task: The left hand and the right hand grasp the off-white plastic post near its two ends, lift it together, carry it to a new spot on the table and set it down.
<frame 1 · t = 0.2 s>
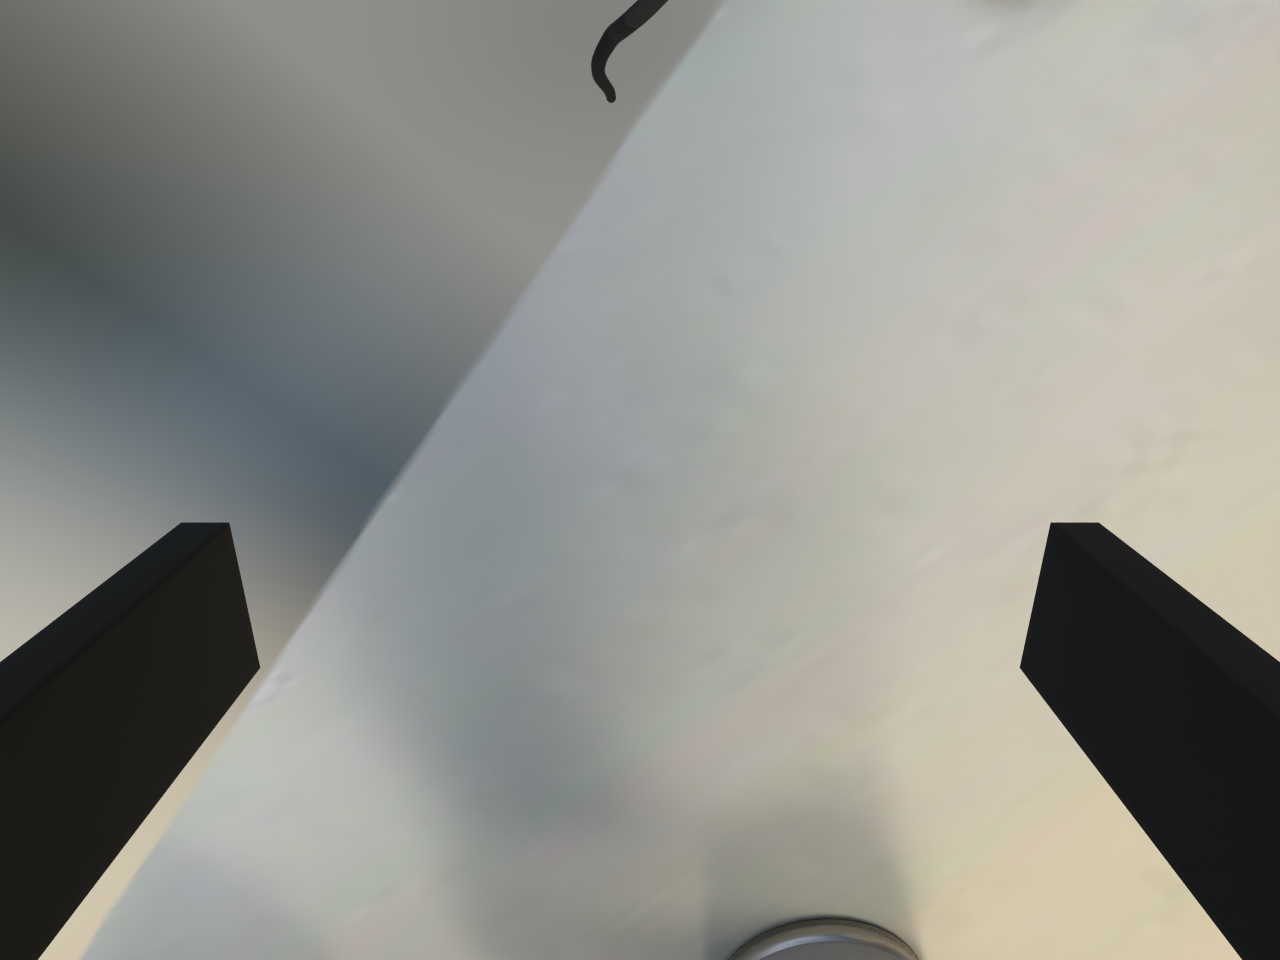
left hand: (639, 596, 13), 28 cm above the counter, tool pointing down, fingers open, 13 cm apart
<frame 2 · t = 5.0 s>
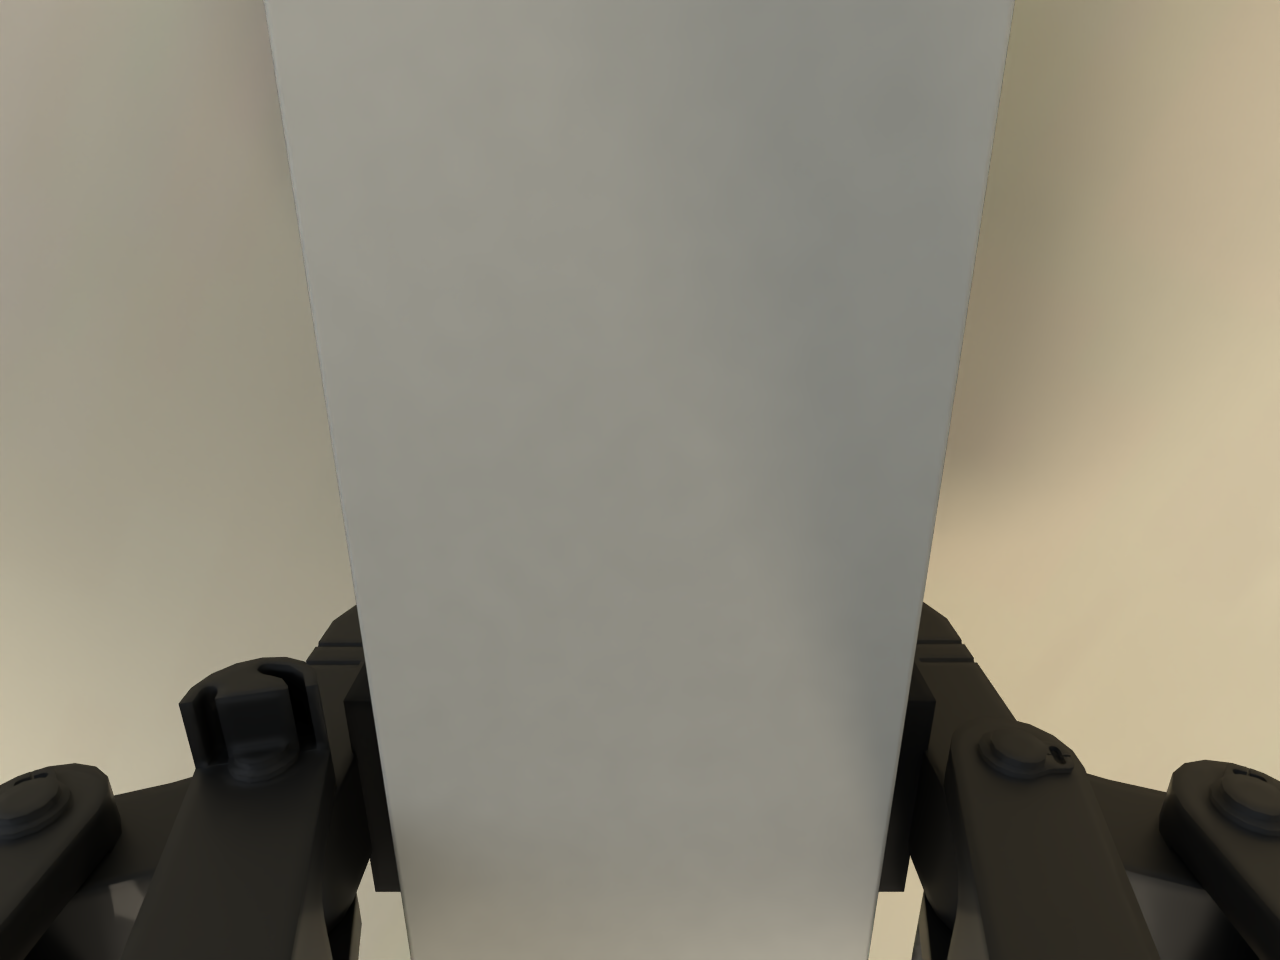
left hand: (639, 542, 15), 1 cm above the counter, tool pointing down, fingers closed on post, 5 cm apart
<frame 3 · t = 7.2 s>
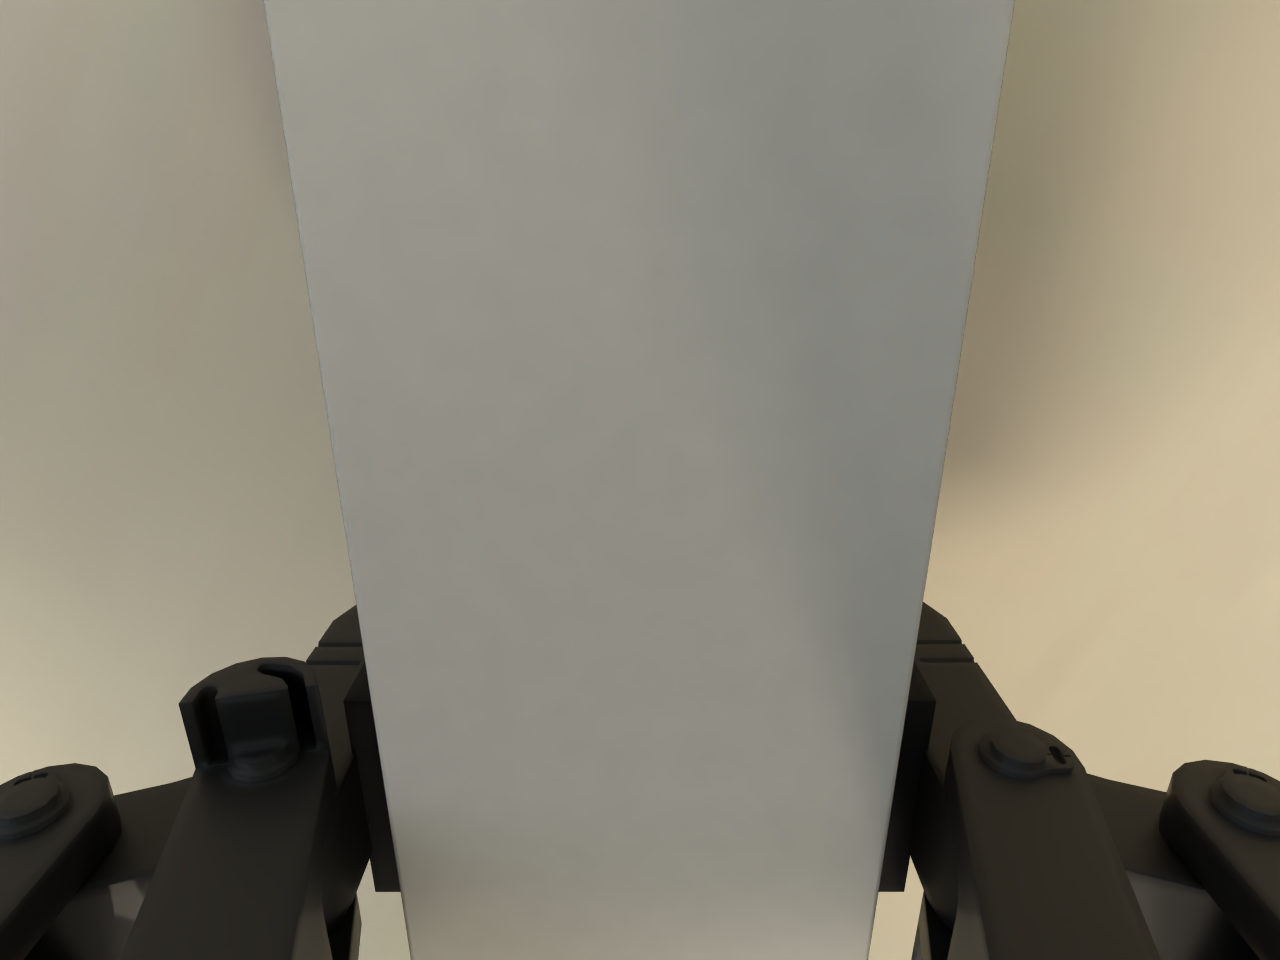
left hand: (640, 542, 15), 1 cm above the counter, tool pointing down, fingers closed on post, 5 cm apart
when the left hand's fingers open (2 cm above the counter, at t = 14.6 s): post drops 1 cm, on the counter.
when the right hand's fingers open (5 cm above the counter, at t = 14.8 s): post stays where it is, on the counter.
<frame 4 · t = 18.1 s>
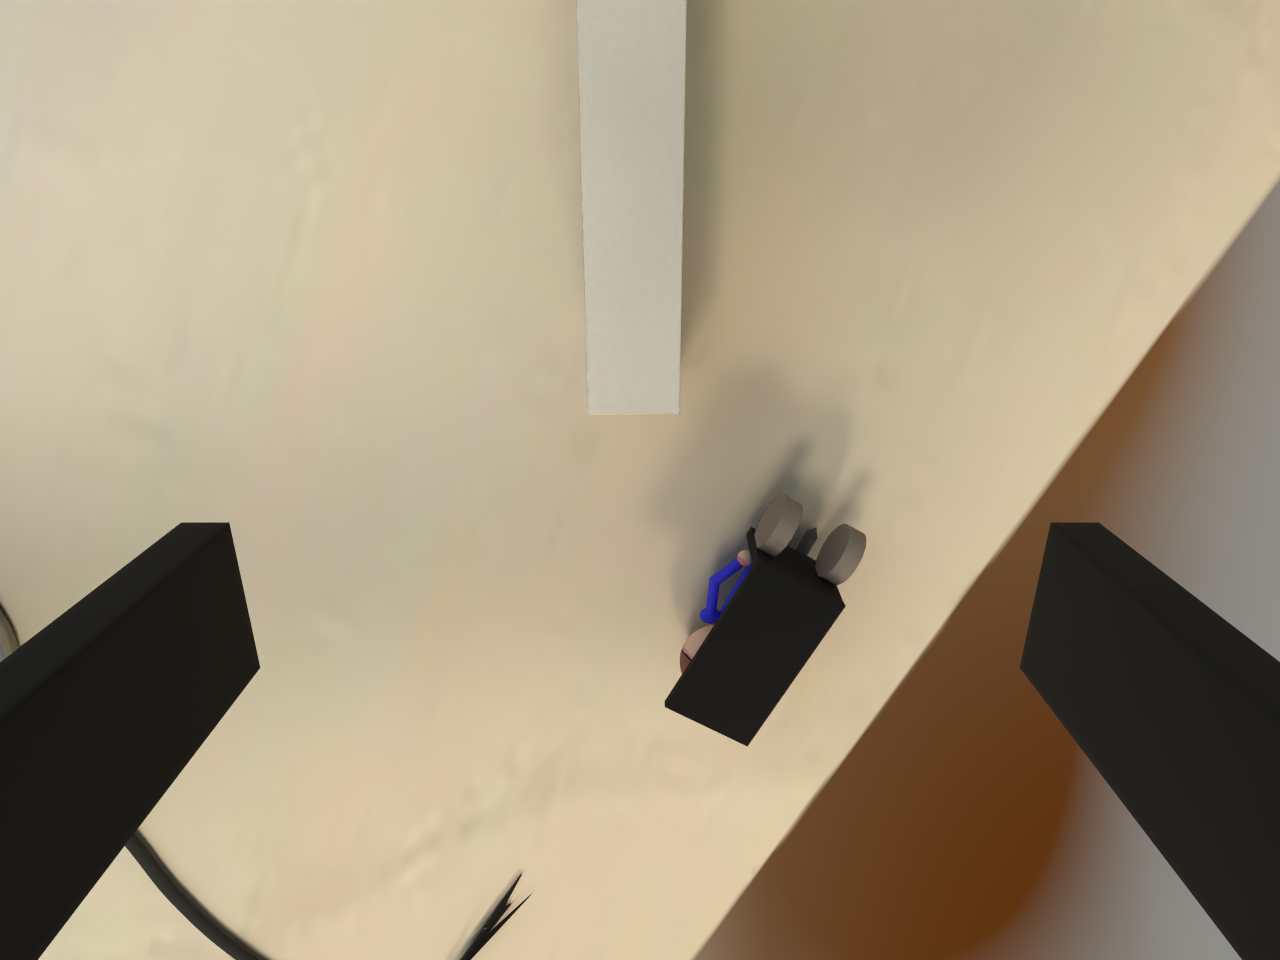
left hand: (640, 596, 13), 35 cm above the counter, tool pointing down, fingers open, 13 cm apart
figurine character: (751, 582, 53), on the counter
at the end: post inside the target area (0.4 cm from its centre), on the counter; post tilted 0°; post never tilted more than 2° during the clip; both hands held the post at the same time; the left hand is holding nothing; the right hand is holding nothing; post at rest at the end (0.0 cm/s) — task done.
